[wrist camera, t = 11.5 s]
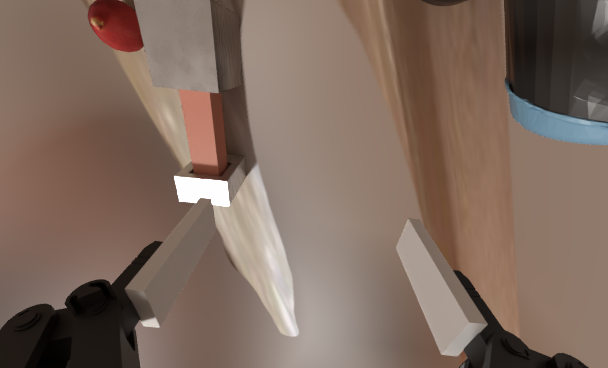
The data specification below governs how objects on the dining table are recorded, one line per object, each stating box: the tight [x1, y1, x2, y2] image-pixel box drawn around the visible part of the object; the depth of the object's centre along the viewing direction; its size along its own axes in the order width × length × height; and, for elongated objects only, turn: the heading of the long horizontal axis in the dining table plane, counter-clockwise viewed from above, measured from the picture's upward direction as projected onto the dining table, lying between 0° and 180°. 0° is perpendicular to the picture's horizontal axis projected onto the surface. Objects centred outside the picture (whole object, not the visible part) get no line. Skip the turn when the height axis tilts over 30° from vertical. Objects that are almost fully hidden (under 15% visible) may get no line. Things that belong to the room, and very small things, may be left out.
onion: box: [88, 0, 144, 52], centre depth 29 cm, size 6×6×8 cm
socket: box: [174, 154, 246, 206], centre depth 38 cm, size 4×8×10 cm, turn 85°
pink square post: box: [179, 89, 228, 176], centre depth 34 cm, size 18×4×4 cm, turn 175°
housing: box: [134, 0, 242, 93], centre depth 29 cm, size 9×8×10 cm
